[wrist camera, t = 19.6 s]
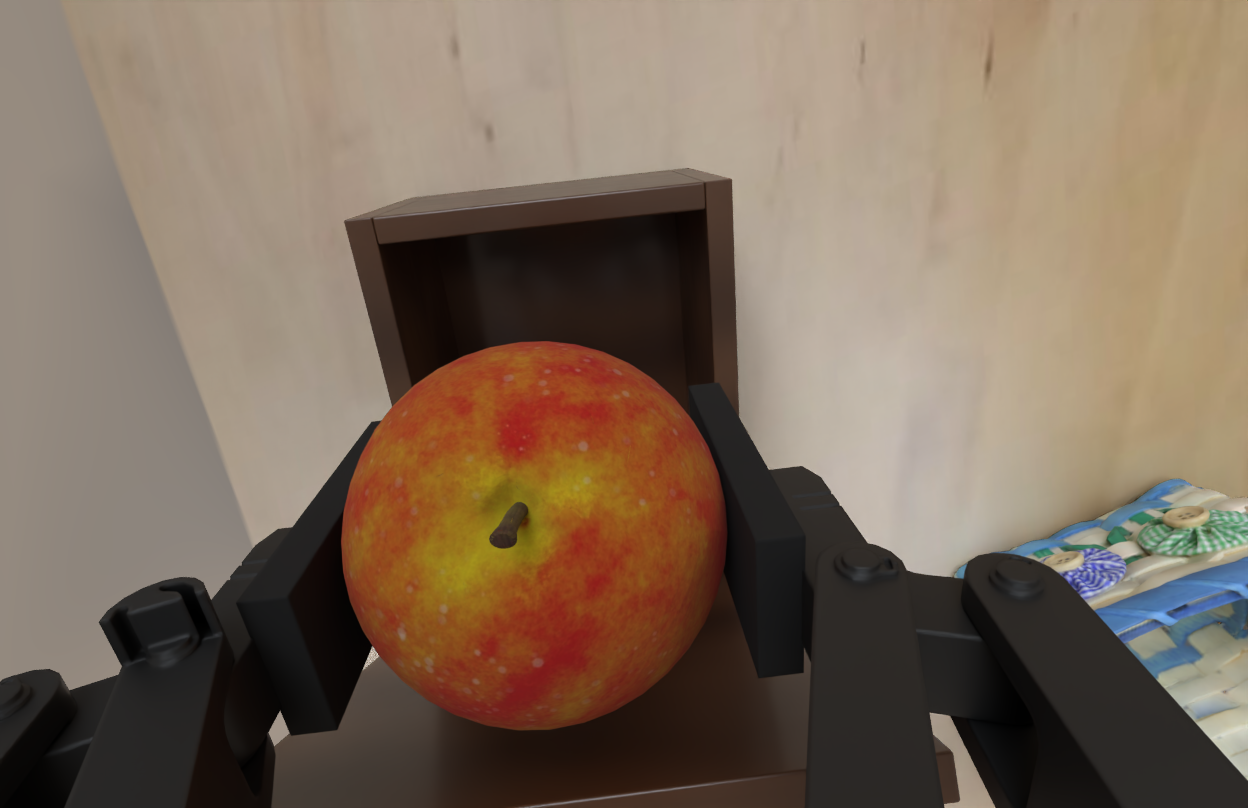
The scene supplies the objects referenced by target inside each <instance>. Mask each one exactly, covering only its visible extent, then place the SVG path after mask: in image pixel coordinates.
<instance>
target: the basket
mask: <svg viewBox="0 0 1248 808" xmlns="http://www.w3.org/2000/svg"><path fill="white" fill-rule="evenodd" d="M993 553H1008V554H1016V555H1020V556H1024V557H1028V558H1031V559H1034V560H1036V561H1038V562H1041V563H1043V564H1045V565H1047V566H1049V567H1051V568H1052V569H1054V570H1055V571H1056V572H1057V573H1059V574H1060V575H1061V576H1062V577H1064V578H1065V579H1066V580H1067V581H1068V582H1069V584H1070V585H1071V586H1072V587H1073V588H1074V589H1075V590H1076V591H1077V592H1078V593H1079V595H1080V596H1081V597H1082V598H1083V599H1084V600H1085V601H1086V602H1087V603H1088V605H1089V606H1090V607H1091V608H1092V609H1093V610H1094V611H1095V612H1096V613H1097V614H1098V616H1099V617H1100V618H1101V619H1102V620H1103V621H1104V622H1105V623H1106V624H1107V625H1108V627H1109V628H1110V629H1111V630H1112V631H1113V632H1114V633H1115V634H1116V635H1117V637H1118V638H1119V639H1120V640H1121V641H1122V642H1123V643H1124V644H1125V645H1126V646H1127V648H1128V649H1129V650H1130V651H1131V652H1132V653H1133V654H1134V655H1135V656H1136V658H1137V659H1138V660H1139V661H1140V662H1141V663H1142V664H1143V665H1144V666H1145V667H1146V669H1147V670H1148V671H1149V672H1150V673H1151V674H1152V675H1153V676H1154V677H1155V678H1156V680H1157V681H1158V682H1159V683H1160V684H1161V685H1162V686H1163V687H1164V688H1165V690H1166V691H1167V692H1168V693H1169V694H1170V695H1171V696H1172V697H1173V698H1174V699H1175V701H1176V702H1177V703H1178V704H1179V705H1180V706H1181V707H1182V708H1183V709H1184V711H1185V712H1186V713H1187V714H1188V715H1189V716H1190V717H1191V718H1192V719H1193V720H1194V722H1195V723H1196V724H1197V725H1198V726H1199V727H1200V728H1201V729H1202V730H1203V731H1204V733H1205V734H1206V735H1207V736H1208V737H1209V738H1210V739H1211V740H1212V741H1213V743H1214V744H1215V745H1216V746H1217V747H1218V748H1219V749H1220V750H1221V751H1222V752H1223V754H1224V755H1225V756H1226V757H1227V758H1228V759H1229V760H1230V761H1231V762H1232V764H1233V765H1234V766H1235V767H1236V768H1237V769H1238V770H1239V771H1240V772H1241V773H1242V775H1243V776H1244V777H1245V778H1246V779H1247V780H1248V628H1247V629H1243V627H1244V625H1246V626H1247V627H1248V498H1245V497H1240V498H1230V497H1229V496H1226V495H1224V494H1222V493H1219V492H1217V491H1214V490H1212V489H1203V488H1201V487H1194V486H1192V485H1191V484H1189V483H1188V482H1186V481H1185V480H1182V479H1171V480H1168V481H1165V482H1163V483H1160V484H1158V485H1156V486H1155V487H1153V488H1152V489H1150V490H1149V491H1147V492H1146V493H1145V494H1143V495H1142V496H1140V497H1139V498H1138V499H1137V500H1136V501H1134V502H1133V503H1132V504H1127V505H1124V506H1122V507H1120V508H1118V509H1116V510H1113V511H1111V512H1109V513H1107V514H1105V515H1103V516H1100V517H1098V518H1097V519H1095V520H1093V521H1086V522H1080V523H1077V524H1074V525H1071V526H1069V527H1066V528H1064V529H1062V530H1060V531H1059V532H1057V533H1055V534H1054V535H1052V536H1051V537H1050V538H1048V539H1041V540H1035V541H1031V542H1028V543H1025V544H1023V545H1021V546H1018V547H1014V548H1012V549H1011V550H1010V551H1004V552H993ZM966 566H967V564H965V565H963V566H962V567H960V568H959V569H958V571H957V572H956V573H955V576H954V577H955V578H962V579H963V578H964V571H965V569H966ZM1218 622H1221V624H1218ZM1224 691H1225V693H1224Z"/></svg>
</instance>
